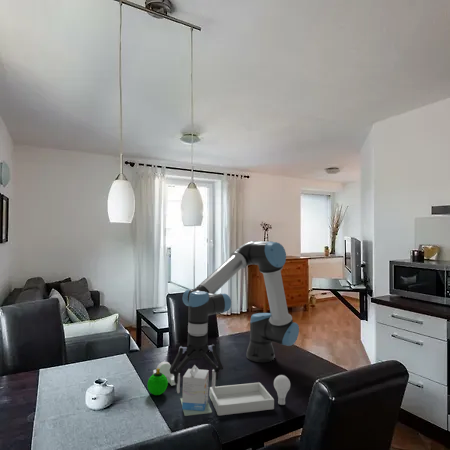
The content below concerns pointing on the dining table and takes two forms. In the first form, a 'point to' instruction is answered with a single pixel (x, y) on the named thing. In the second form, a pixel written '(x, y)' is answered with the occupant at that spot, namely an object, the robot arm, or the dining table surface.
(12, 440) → the dining table surface
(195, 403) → the ink box
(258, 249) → the robot arm
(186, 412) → the mat
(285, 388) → the lightbulb
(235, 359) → the dining table surface
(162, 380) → the ornament
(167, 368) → the slotted bracket
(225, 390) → the tray
